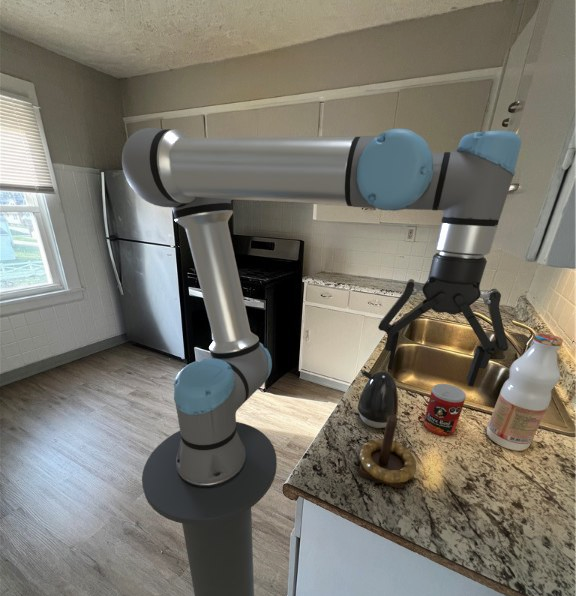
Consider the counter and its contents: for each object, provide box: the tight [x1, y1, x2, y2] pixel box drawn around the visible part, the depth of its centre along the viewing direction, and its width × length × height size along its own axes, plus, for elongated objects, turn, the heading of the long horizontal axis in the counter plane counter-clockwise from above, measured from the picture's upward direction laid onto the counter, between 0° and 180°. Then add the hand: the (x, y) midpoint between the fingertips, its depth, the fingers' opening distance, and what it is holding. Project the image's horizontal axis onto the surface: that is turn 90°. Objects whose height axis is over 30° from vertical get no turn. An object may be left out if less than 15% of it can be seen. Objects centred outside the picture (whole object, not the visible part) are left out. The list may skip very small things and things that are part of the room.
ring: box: [358, 438, 417, 483], centre depth 68 cm, size 12×12×2 cm
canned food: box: [423, 383, 467, 436], centre depth 81 cm, size 8×8×11 cm
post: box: [358, 415, 404, 490], centre depth 67 cm, size 9×9×14 cm
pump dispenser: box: [357, 369, 399, 429], centre depth 81 cm, size 10×10×15 cm
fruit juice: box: [486, 332, 564, 452], centre depth 74 cm, size 9×9×28 cm
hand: (428, 374), depth 57 cm, fingers open, 13 cm apart
